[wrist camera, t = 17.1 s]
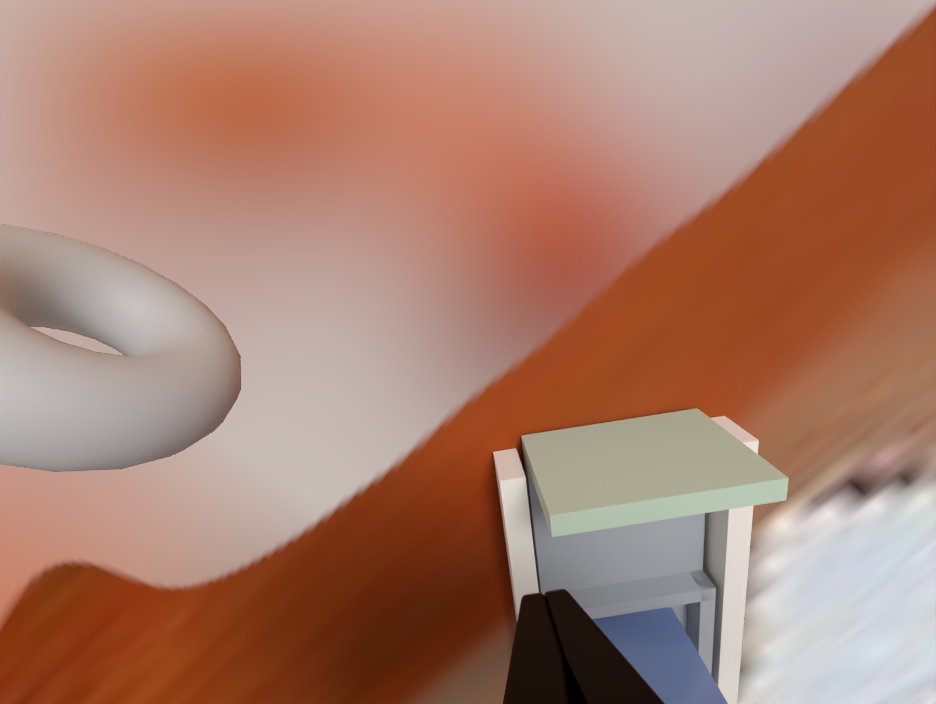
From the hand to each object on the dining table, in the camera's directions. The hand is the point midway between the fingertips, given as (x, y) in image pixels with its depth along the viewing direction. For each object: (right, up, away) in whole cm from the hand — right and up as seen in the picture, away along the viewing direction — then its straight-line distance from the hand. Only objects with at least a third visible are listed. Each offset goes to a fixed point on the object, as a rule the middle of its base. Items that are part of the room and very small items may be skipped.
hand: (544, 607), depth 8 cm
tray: (+7, -8, +17) cm, 19 cm away
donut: (-14, +7, +11) cm, 19 cm away
